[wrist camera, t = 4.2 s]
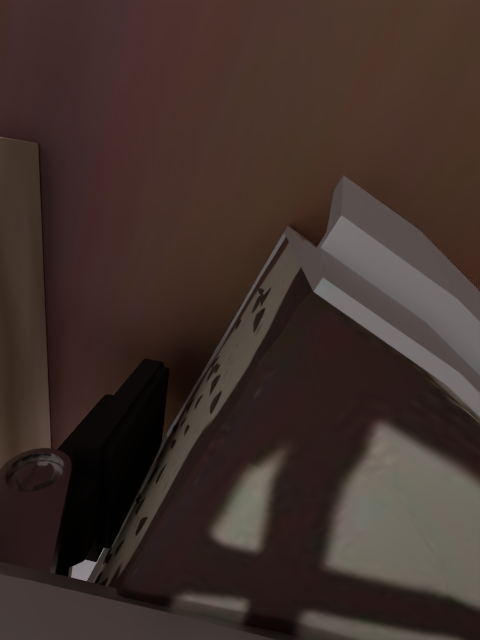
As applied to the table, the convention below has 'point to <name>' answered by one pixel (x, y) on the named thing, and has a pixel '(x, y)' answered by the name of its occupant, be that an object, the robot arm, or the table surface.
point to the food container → (325, 448)
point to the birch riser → (22, 304)
